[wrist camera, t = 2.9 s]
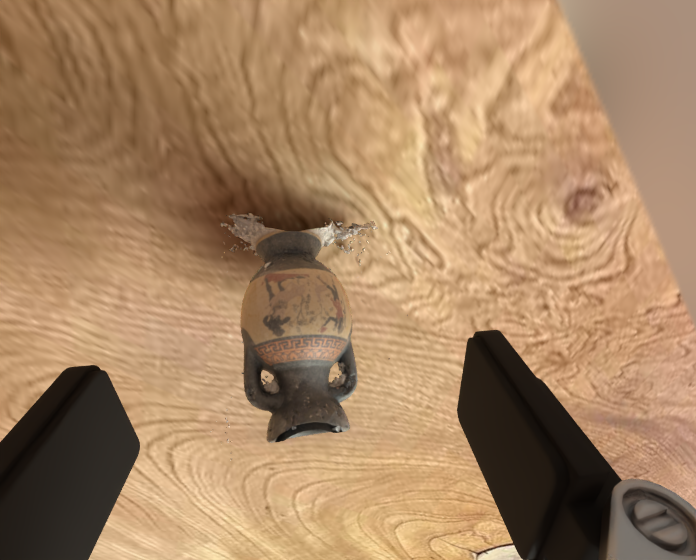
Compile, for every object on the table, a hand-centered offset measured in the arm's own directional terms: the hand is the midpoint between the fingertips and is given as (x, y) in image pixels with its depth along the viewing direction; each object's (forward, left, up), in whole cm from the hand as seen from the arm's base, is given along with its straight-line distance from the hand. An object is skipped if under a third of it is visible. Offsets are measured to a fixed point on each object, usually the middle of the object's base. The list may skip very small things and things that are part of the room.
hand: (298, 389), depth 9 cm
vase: (0, 0, -5) cm, 5 cm away
